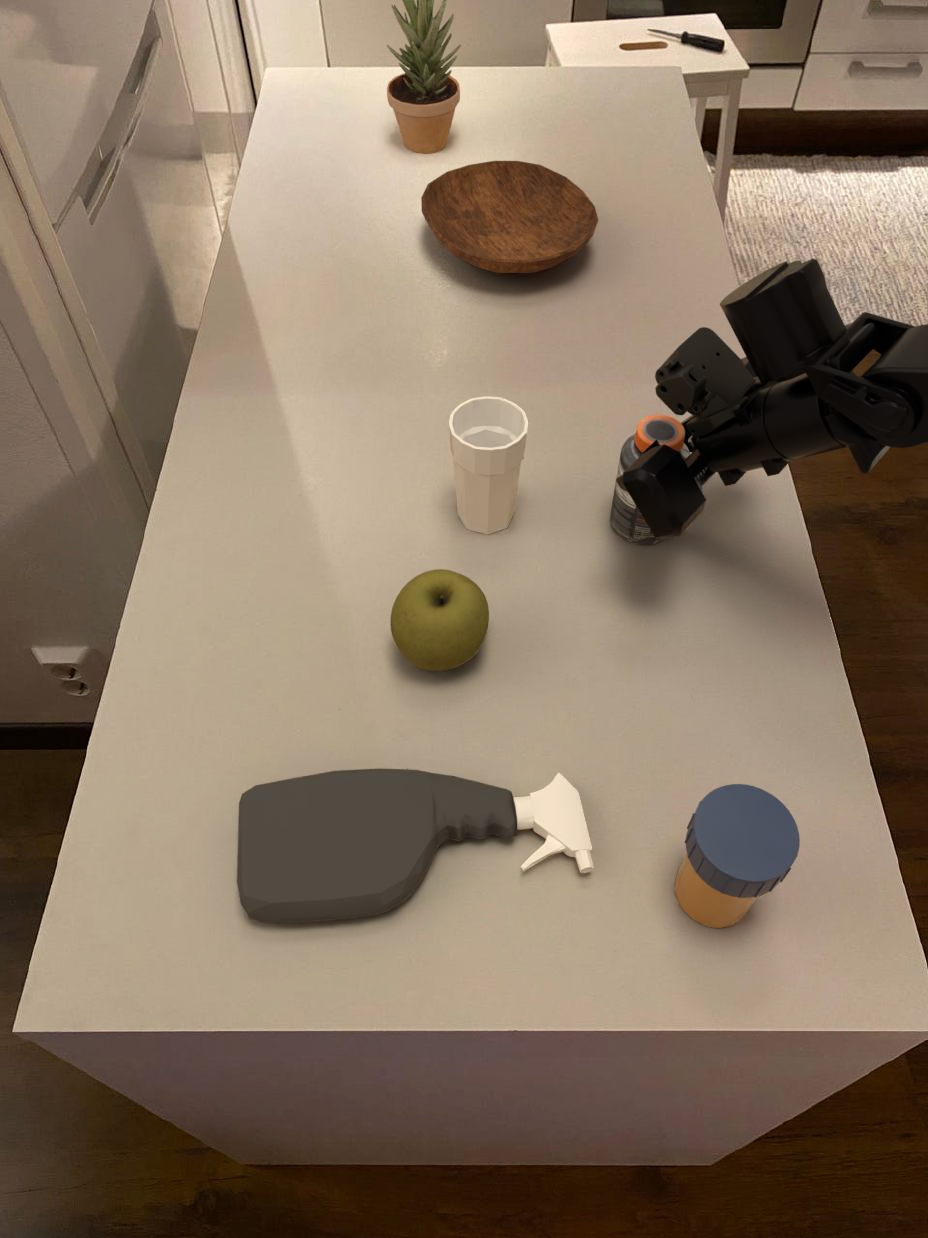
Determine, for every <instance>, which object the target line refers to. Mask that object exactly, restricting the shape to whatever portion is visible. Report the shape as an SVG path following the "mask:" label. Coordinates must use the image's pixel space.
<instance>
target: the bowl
mask: <svg viewBox="0 0 928 1238" xmlns="http://www.w3.org/2000/svg"><path fill="white" fill-rule="evenodd" d="M420 199H421V214H422V215H423V218H424V219H425V222H426V223H427V225H428V227H429V228H430V230H431V232H432V233H433V235H434V237H435V238H436V240H437V242H438V243H440V245H442V246H443V247H444V248H445V249H446V250H448V251H449V252H450V253H451V254H452V255H453V256H454V257H456V258H458V259H461V260H462V261H464V262H466V263H469V264H470V265H472V266H474V267H476V268H479V269H482V270H486V271H489V272H492V273H496V274H533V273H537V272H541V271H545V270H547V269H548V270H549V269H552V268H553V267H555V266H557V265H559V264H561V263H562V262H564V261H565V260H567V259H569V258H571V257H573V256H574V255H576V254H577V253H578V252H579V251H580V250H581V249H582V248H583V247H585V246H586V245H587V243H589V241H590V240H591V239H592V237H593V236H594V235H595V231H596V230H597V226H598V223H599V217H598V213H597V209H596V206H595V204H593V202H592V201H591V199H590V198H589V197H588V195H587V194H586V193H585V191H584V190H583V189H581V188H580V187H579V186H578V185H577V184H575V182H573V181H572V180H571V179H569V178H568V177H567V176H565V175H563V174H561V173H559V172H557V171H554V170H552V169H550V168H548V167H546V166H544V165H542V164H537V163H532V162H526V161H521V160H491V161H490V160H489V161H484V162H479V163H478V162H477V163H471V164H467V165H464V166H461V167H458V168H455V169H452V170H448V171H446V172H444V173H443V174H441V175H440V176H437V178H435V179H433V180H432V181H430V182H429V183H427V185H426V187H425V189H424V191H423V194H421V198H420Z"/></svg>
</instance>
